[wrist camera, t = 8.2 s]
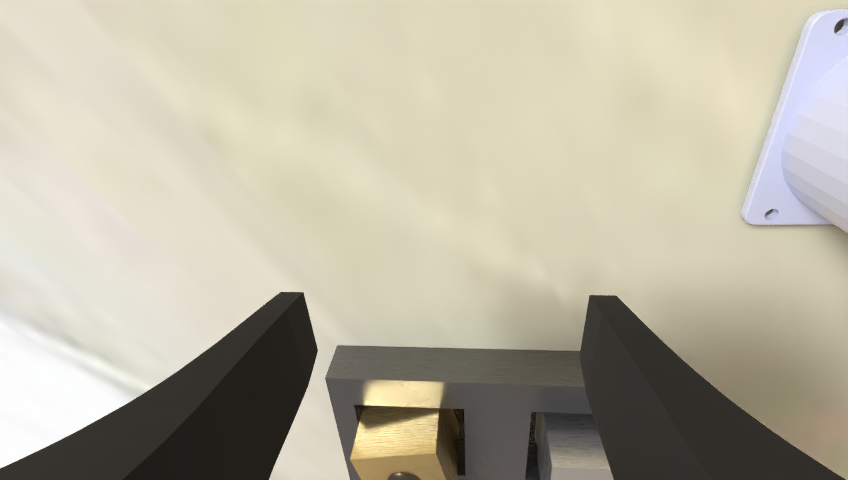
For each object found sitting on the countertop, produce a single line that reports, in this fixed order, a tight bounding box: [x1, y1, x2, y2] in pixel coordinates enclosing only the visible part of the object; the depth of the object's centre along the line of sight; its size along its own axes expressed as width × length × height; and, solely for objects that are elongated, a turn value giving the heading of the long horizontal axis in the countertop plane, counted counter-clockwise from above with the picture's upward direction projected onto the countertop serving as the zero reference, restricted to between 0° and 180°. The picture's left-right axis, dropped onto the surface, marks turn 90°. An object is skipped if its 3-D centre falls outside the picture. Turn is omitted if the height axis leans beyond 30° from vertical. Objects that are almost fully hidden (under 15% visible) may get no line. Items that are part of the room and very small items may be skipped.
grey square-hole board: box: [325, 346, 592, 480], centre depth 26 cm, size 18×10×2 cm, turn 93°
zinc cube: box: [534, 412, 614, 480], centre depth 24 cm, size 4×4×5 cm
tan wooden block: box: [350, 405, 459, 480], centre depth 25 cm, size 4×4×5 cm
